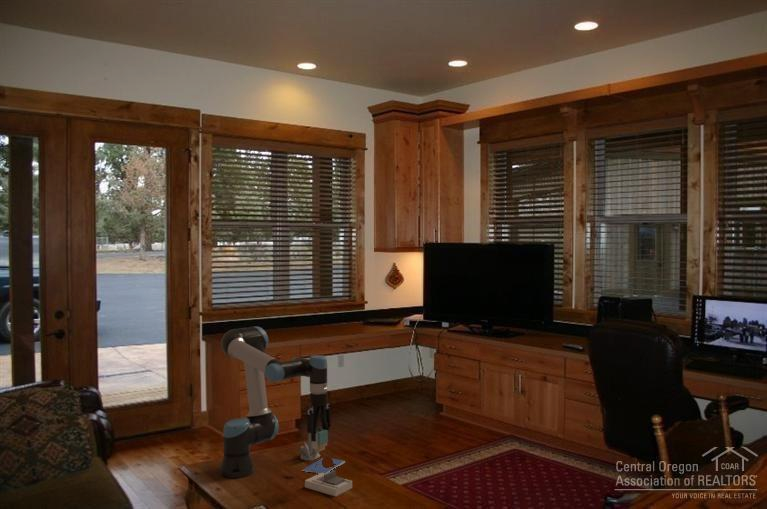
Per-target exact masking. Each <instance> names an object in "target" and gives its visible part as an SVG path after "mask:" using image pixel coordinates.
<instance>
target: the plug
mask: <svg viewBox="0 0 767 509" xmlns="http://www.w3.org/2000/svg"><path fill="white" fill-rule="evenodd" d="M328 431H329V430H323V429H322V426H317V432H316V433H318V449H314V450H317V451H320V452H321V451H324V450H326V446H325V443H327V444H328V442H329V432H328ZM311 443H312V441H311Z"/></svg>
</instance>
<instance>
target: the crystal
mask: <svg viewBox="0 0 767 509" xmlns="http://www.w3.org/2000/svg"><path fill="white" fill-rule="evenodd" d="M307 437H308V438H307V443H306V441H304V444H303V446H300V447H299V450H300V452H301V455H300V457H299V458H300V459H301V460H304V461H315V460H314V459H317V458H319V457H320V456H321V454H320V452H321V451H317V450H314V448H312V443H311V433H308V436H307ZM319 459H320V458H319ZM317 460H318V459H317Z"/></svg>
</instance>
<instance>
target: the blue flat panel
mask: <svg viewBox="0 0 767 509" xmlns="http://www.w3.org/2000/svg"><path fill="white" fill-rule="evenodd" d="M323 458H324V457H321V458H319V459H317V460H316V461H315V462H313V463H311V464H310V465H308V466H306V467H305V468H303V469H302V470H301V472H302V471H305V472H304V473H307V472H316V473H318V474H320V473H325V474H327V473H329V472H330V471H331V470H332V471H333V469H334V468H335V469H337V468H339V467H340V466H341V465H343V464H345V463H346V461H345V460H341V459H337V458H331V459H332V460H333V463H334V464H336V465H334V467H329V468H325V467H323V465H322V460H323ZM316 464H317V465H316ZM315 466H316V467H315ZM338 466H339V467H338ZM336 467H337V468H336ZM335 469H334V470H335ZM313 470H314V471H313Z"/></svg>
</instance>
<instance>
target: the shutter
mask: <svg viewBox="0 0 767 509" xmlns="http://www.w3.org/2000/svg"><path fill="white" fill-rule="evenodd" d="M345 479H346V478H343V477H339V476H337V470H335V469H334V470H332V471H331V472H329V473H327V474H325V475H324V483H328V484H331V485H335V486H336V485H338V484H340V483H342V482H344V481H345Z"/></svg>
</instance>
